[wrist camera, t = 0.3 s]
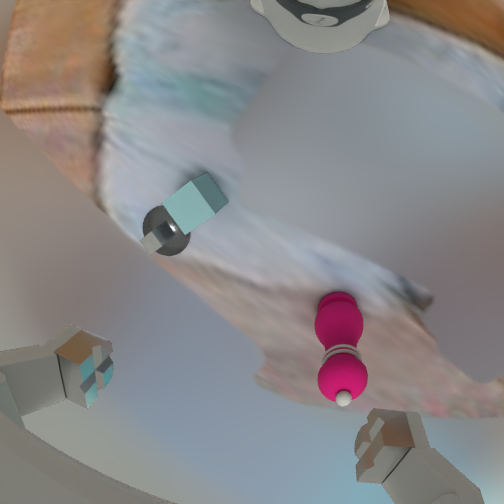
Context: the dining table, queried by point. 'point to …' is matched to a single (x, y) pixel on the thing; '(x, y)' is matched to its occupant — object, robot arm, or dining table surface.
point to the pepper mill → (340, 348)
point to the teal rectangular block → (195, 203)
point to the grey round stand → (163, 233)
